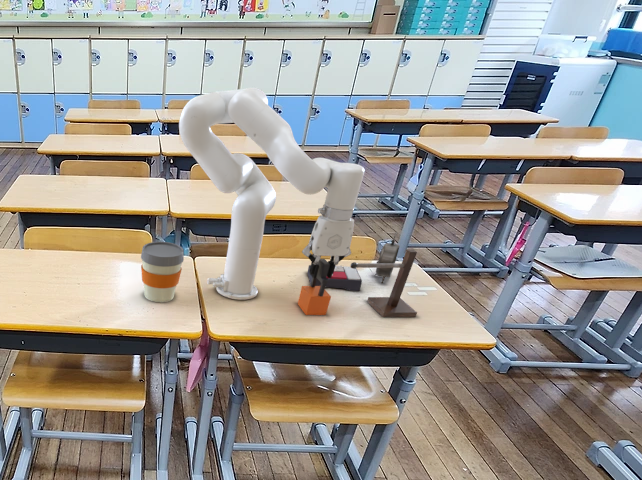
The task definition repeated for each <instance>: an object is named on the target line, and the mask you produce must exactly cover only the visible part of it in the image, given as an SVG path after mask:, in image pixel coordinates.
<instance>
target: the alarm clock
mask: <svg viewBox="0 0 642 480" xmlns="http://www.w3.org/2000/svg"><path fill="white" fill-rule="evenodd" d="M397 233H398V231H395V233H394V236H393V239H392V240H391V242H385V244H384V245H383V246H382V247H381V248H380V253H379V257H378V260H377V261H376V263H396V261H397V257H398V254H399V250H400V244H397V243H395V242H396V240H395V239H396V237H397ZM393 270H394V268H375V274H374V275H373V277H375V276H377V277H380V278H381V277H382V279H381V282H380V283H381V284H384V282H385V279H387V278H388V279H390V278H391V276H392V274H393Z"/></svg>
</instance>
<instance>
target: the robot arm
mask: <svg viewBox="0 0 642 480" xmlns="http://www.w3.org/2000/svg"><path fill="white" fill-rule="evenodd" d="M221 124H235V125H236V127H238V128H239V129H240V130H241V131H242V132H243V133H244V134H246V136H248V138H250V139H251V140H252V141H253V142H254V143H255V144H256V145H257V146H258V147H260V149H262V151H264V153H265V155H266V156H267V158H268V159H269V161H270V162H271V163H272V164H273V166H274V168H275V169H276V170H277V171H278V172H279V173H280V175H282V177H283V178H284V179H285V180H286V181H287V182H288V183H289V184H290V185H292V186H293V187H294V188H295V189H296V190H298V191H299V192H301V193H303V194H305V195H315V194H318V193H320V192H321V191H322V190H323V189H324V188H327V193H326V196H325V200H324V204H323V205H322V207H319V208H318V209H317V214H320V215H318V218H317V219H316V221H315V223H314V226H313V228H312V231H311V234H310V237H309V241H308V243H307V245H306V246H305V247H304V248H303V249H302V251H301V253H302V254H303V255H304V256H305V257H306V258H308V259H309V261H310V265H311V266H310V270H309V273H310V275H311V276H312V277H313V278H316V277H317V273H318V269H319V265H318V262H319V260H320V259H322V257H330V258H329V260H328V261H327V262H328V263H329V264H330V266H329V270H328V273H327V277H328V278H331V277H332V274H333V273H334V269H335V266H336V265H339V262H341V261H342V260H344V258H346V257H348V256H350V255H352V251H351V250H352V249H351V244H352V240H353V237H354V236H353V234H354V227H355V219H354V218H353V214H354V210H355V207H356V203H357V200H358V198H359V197H358V196H359V193H360V190H361V187H362V183H363V179H364V175H365V168H364V166H362V165H361V164H358V163H354V162H353V163H352V162H339V161H336V160H332V159H329V158H326V157H315V158H311V157H310V156H308V154H307V153H306V152H305V151H304V150H303V149H302V148H301V147H300V146H299V144H298V142H297V141H296V139H295V136H294V133H293V130H292V127H291V125H290V124H289V123H288V122H287V120H285V119H284V118H283V117H282V116H281V115H280V114H279V113H278V112H276V111H275V109H273V107H271V106H270V105H269V99H268V97H267V95H266V93H265V92H264V91H263V90H262V89H260V88H258V87H247V88H240V89H238V88H237V89H230V90H229V89H228V90H221V91H219V90H218V91H211V92H208V93H204V94H200V95H196V96H195V97H193V98H191V99H190V100H188V102H187V103H186V104H185V106H183V108H182V111H181V113H180V117H179V121H178V130H179V131H178V133H179V136H180V139H181V142H182V144H183V146H184V147H185V148H186V150H187V151H188V152H189V153H190V155H191V156H192V157H193V159H195V161H196V163H197V164H198V165H199V167H200V168H201V169H202V171H203V172H204V173H205V174H206V176H207V177H208V178H209V180H210V181H211V183H212V184H213V185H214V186H215V187H216V189H217V190H218V191H219V192H221V193H224V194H232V193H235V194H236V195H237V197H236V198H235V199H234V202H233V204H232V208H231V215H230V216H231V218H230V231H229V237H228V238H229V239H228V246H227V251H226V258H225V263H224V271H223V273H222V274H220V276H218V277H217V278H215V277H207V279H206V284H207V285H212V287H213V288H216V292H217V293H218V294H219V295H221V296H223V297H225V298H228V299H230V300H231V299H232V300H236V301H237V300H239V301H245V300H250V299H254V298H255V297H256V296H257V294H258V288H257V286H255V279H256V275H257V269H258V264H259V259H260V254H261V249H262V243H263V238H264V232H265V223H266V218H267V215H268V214H269V213H270V212H271V211H272V209H273V208H274V207H275V204H276V201H277V194H276V191H275V189H274V187H273V185H272V183H271V182H270V181H269V180H268V178H267V177H266V176H265V175H264V173H263V172H262V170H261V169H260V168H259V166H258V165H257V164H256V163H255V162H254V160H253V159H252V158H251V157H249V156H248V155H246V154H244V153H241V152H234V153H232V152H231V151H230V150H229V148H228V147H226V145H225V144H224V142H223V141H222V139H220V137H218V135H216V134H215V133H214V132H213V131H212V128H211V127H213V126H216V125H221ZM311 252H312V253H311Z"/></svg>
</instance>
